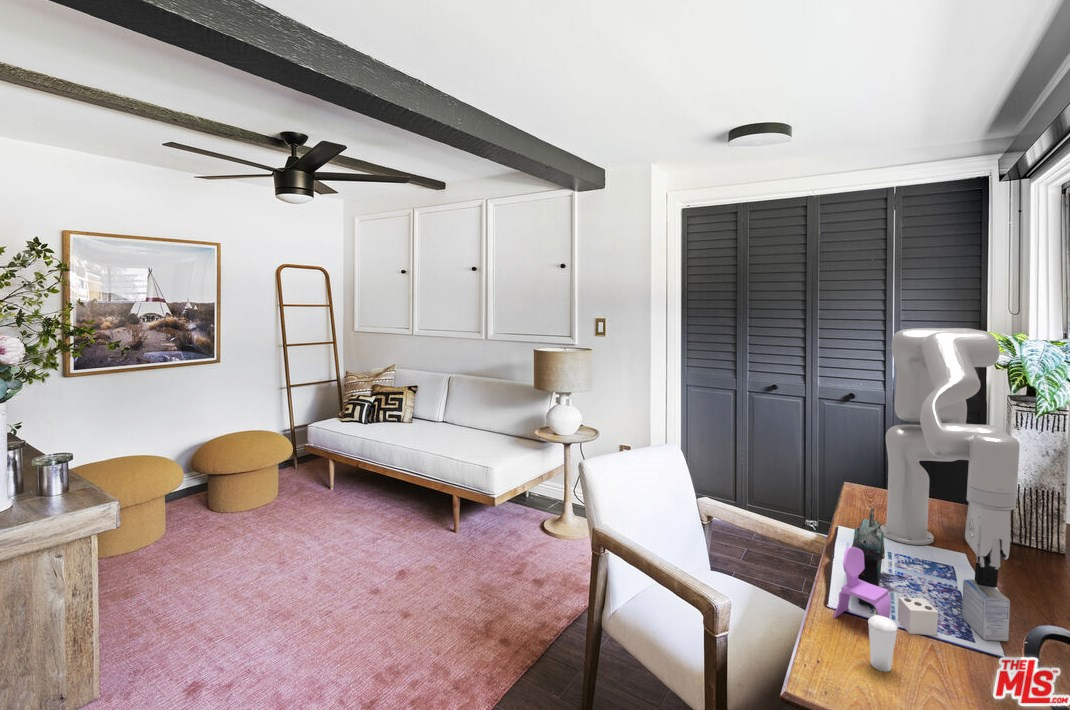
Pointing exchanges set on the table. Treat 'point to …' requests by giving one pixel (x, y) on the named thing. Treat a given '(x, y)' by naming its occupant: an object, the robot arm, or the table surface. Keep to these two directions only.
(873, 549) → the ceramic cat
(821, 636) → the table surface
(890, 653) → the milkshake
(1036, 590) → the table surface
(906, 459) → the robot arm
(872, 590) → the toy chair
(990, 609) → the medicine box
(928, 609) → the dotted block three
